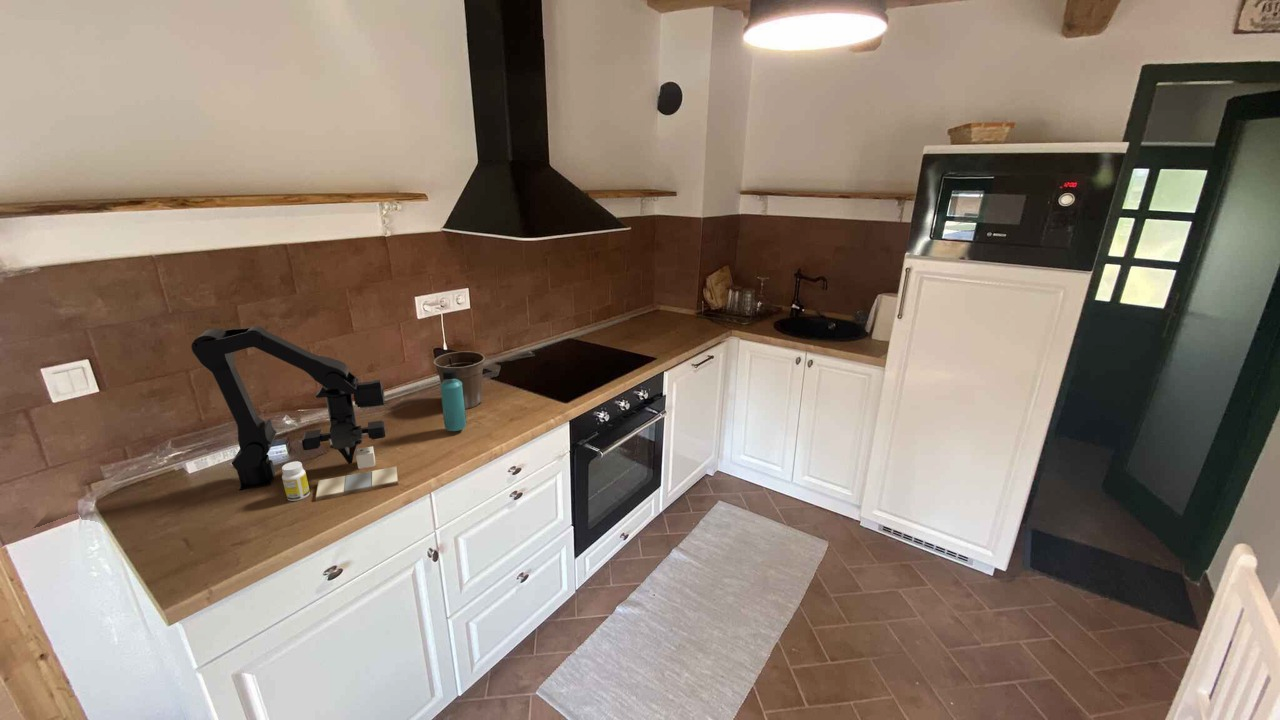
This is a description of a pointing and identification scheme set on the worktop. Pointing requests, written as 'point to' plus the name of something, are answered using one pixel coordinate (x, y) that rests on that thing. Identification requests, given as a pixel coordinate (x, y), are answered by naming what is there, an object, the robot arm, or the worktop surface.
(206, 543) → the worktop surface
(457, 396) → the beverage bottle
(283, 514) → the worktop surface
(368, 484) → the board
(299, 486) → the supplement bottle
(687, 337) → the worktop surface
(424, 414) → the worktop surface
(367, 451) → the die
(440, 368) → the plant pot
